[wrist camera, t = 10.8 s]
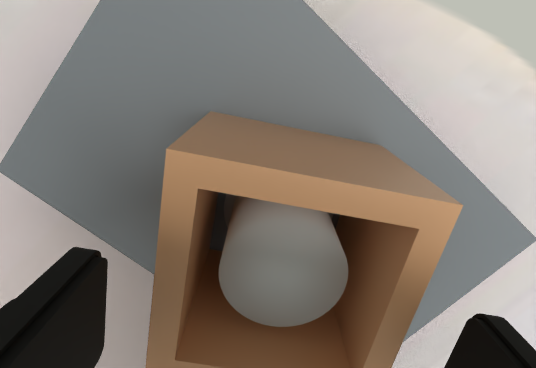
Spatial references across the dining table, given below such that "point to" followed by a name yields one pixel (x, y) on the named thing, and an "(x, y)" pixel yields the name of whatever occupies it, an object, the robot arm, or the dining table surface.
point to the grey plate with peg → (246, 106)
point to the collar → (306, 196)
